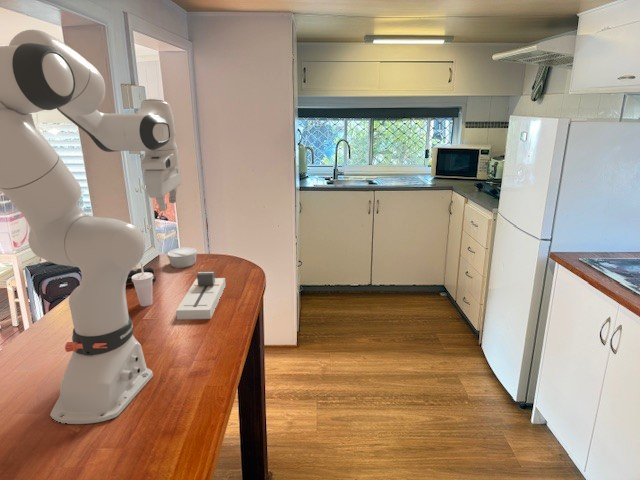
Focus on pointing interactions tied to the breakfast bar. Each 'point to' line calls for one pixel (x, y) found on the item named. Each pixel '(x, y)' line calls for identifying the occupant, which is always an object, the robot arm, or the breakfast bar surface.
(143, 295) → the smoothie
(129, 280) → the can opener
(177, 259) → the ramekin
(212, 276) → the fader knob
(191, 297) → the fader console
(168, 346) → the breakfast bar surface
